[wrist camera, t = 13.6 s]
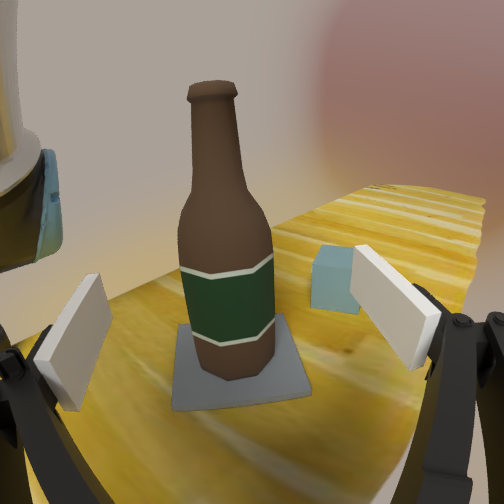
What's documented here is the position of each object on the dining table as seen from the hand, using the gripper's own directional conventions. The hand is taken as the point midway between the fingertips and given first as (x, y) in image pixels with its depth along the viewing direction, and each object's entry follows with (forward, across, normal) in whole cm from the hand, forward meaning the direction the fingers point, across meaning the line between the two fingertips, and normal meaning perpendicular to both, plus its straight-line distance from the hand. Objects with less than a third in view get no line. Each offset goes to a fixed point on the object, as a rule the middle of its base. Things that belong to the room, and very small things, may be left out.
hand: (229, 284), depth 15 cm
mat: (+10, 0, -14) cm, 17 cm away
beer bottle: (+9, 0, -13) cm, 16 cm away
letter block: (+18, +14, -14) cm, 27 cm away
